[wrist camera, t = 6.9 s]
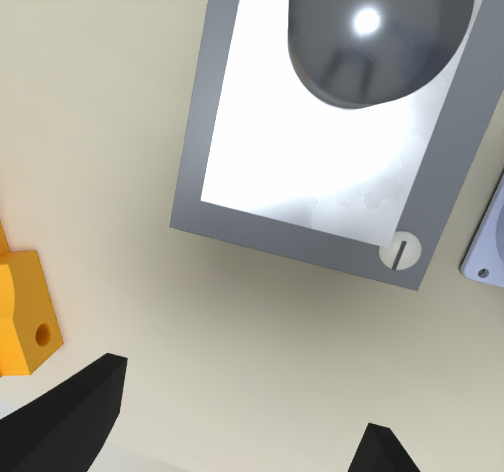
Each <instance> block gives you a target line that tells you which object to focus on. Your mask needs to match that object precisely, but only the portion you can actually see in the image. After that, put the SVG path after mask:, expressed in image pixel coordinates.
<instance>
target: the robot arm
mask: <svg viewBox="0 0 504 472" xmlns="http://www.w3.org/2000/svg"><path fill="white" fill-rule="evenodd" d="M481 269H485V272H484V273H483V274H481V275H478V272H479V271H480V270H481ZM461 273H462V274H463V275H464V276H465V277H466V278H468V279H471V280H475V281H479V282H483V283H487V284H491V285H494V286H498V287H502V288H504V174H503V176H502V179H501V181H500V183H499V185H498V187H497V189H496V192H495V194H494V196H493V198H492V200H491V203H490V205H489V207H488V209H487V211H486V214H485V216H484V218H483V220H482V222H481V225H480V227H479V229H478V231H477V233H476V236H475V238H474V240H473V242H472V244H471V246H470V249H469V251H468V253H467V255H466V257H465V260H464V262H463V264H462V266H461ZM127 360H128V358H125V357H122V356H118V355H114V354H110V353H107V354H105V355H103V356H102V357H100V358H99V359H97V360H96V361H94V362H93V363H91V364H90V365H88V366H87V367H85V368H84V369H82V370H81V371H79V372H78V373H76V374H75V375H73V376H72V377H70V378H68V379H67V380H65V381H64V382H62V383H61V384H59V385H58V386H56V387H54V388H53V389H51V390H50V391H48V392H46V393H45V394H43V395H42V396H40V397H38V398H37V399H35V400H33V401H32V402H30V403H28V404H27V405H25V406H23V407H21V408H20V409H18V410H16V411H14V412H13V413H11V414H9V415H7V416H6V417H4V418H2V419H0V472H87V471H88V469H89V468H90V466H91V465H92V463H93V461H94V460H95V458H96V457H97V455H98V454H99V452H100V450H101V449H102V447H103V445H104V443H105V441H106V439H107V437H108V435H109V433H110V431H111V429H112V427H113V425H114V423H115V421H116V419H117V417H118V415H119V413H120V407H121V400H122V393H123V387H124V380H125V373H126V367H127ZM348 472H420V470H419V469H418V468H417V466H416V465H415V463H414V462H413V460H412V459H411V458H410V456H409V455H408V453H407V452H406V450H405V449H404V448H403V446H402V445H401V443H400V442H399V440H398V439H397V438H396V436H395V435H394V433H393V432H392V431H391V429H390V428H387V427H383V426H379V425H376V424H372V423H368V426H367V428H366V430H365V432H364V435H363V437H362V439H361V442H360V444H359V446H358V449H357V451H356V453H355V456H354V458H353V460H352V463H351V465H350V467H349V469H348Z"/></svg>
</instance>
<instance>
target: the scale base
mask: <svg viewBox="0 0 504 472" xmlns="http://www.w3.org/2000/svg"><path fill="white" fill-rule="evenodd" d="M239 1H240V0H208V4H207V10H206V16H205V22H204V28H203V34H202V39H201V45H200V51H199V57H198V63H197V69H196V75H195V81H194V87H193V92H192V98H191V104H190V110H189V116H188V122H187V128H186V134H185V139H184V145H183V151H182V157H181V163H180V169H179V175H178V181H177V186H176V192H175V198H174V204H173V210H172V216H171V222H170V227H171V228H174V229H178V230H182V231H186V232H190V233H194V234H198V235H202V236H206V237H209V238H213V239H217V240H221V241H225V242H229V243H233V244H237V245H240V246H244V247H248V248H252V249H256V250H260V251H264V252H268V253H272V254H275V255H279V256H283V257H287V258H291V259H295V260H299V261H303V262H307V263H310V264H314V265H318V266H322V267H326V268H330V269H334V270H338V271H342V272H345V273H349V274H353V275H357V276H361V277H365V278H369V279H373V280H376V281H380V282H384V283H388V284H392V285H396V286H400V287H404V288H408V289H411V290H415V291H418V289H419V286H420V284H421V282H422V279H423V277H424V274H425V272H426V270H427V267H428V265H429V263H430V260H431V258H432V256H433V253H434V251H435V249H436V246H437V244H438V241H439V239H440V237H441V234H442V232H443V230H444V227H445V225H446V223H447V220H448V218H449V216H450V213H451V211H452V208H453V206H454V204H455V201H456V199H457V197H458V194H459V192H460V190H461V187H462V185H463V183H464V180H465V178H466V175H467V173H468V171H469V168H470V166H471V164H472V161H473V159H474V157H475V154H476V152H477V150H478V147H479V145H480V142H481V140H482V138H483V135H484V133H485V131H486V128H487V126H488V124H489V121H490V119H491V117H492V114H493V112H494V109H495V107H496V105H497V102H498V100H499V98H500V95H501V93H502V91H503V88H504V0H483V1H482V3H481V6H480V8H479V11H478V14H477V16H476V19H475V22H474V24H473V27H472V30H471V32H470V35H469V37H468V40H467V43H466V45H465V48H464V51H463V53H462V56H461V58H460V61H459V64H458V66H457V69H456V72H455V74H454V77H453V80H452V82H451V85H450V87H449V90H448V93H447V95H446V98H445V101H444V103H443V106H442V109H441V111H440V114H439V116H438V119H437V122H436V124H435V127H434V130H433V132H432V135H431V137H430V140H429V143H428V145H427V148H426V151H425V153H424V156H423V159H422V161H421V164H420V166H419V169H418V172H417V174H416V177H415V180H414V182H413V185H412V187H411V190H410V193H409V195H408V198H407V201H406V203H405V206H404V209H403V211H402V214H401V216H400V219H399V222H398V224H397V227H396V230H395V232H394V235H393V238H392V240H391V243H390V245H389V248H385V247H381V246H378V245H374V244H370V243H366V242H362V241H358V240H354V239H350V238H346V237H342V236H338V235H334V234H330V233H327V232H323V231H319V230H315V229H311V228H307V227H303V226H299V225H295V224H291V223H287V222H283V221H279V220H276V219H272V218H268V217H264V216H260V215H256V214H252V213H248V212H244V211H240V210H236V209H232V208H228V207H225V206H221V205H217V204H213V203H209V202H205V201H201V196H202V191H203V186H204V181H205V176H206V171H207V165H208V160H209V155H210V150H211V145H212V140H213V135H214V129H215V124H216V119H217V114H218V109H219V104H220V98H221V93H222V88H223V83H224V78H225V73H226V68H227V62H228V57H229V52H230V47H231V42H232V37H233V32H234V26H235V21H236V16H237V11H238V6H239Z"/></svg>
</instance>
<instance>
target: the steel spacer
mask: <svg viewBox="0 0 504 472" xmlns="http://www.w3.org/2000/svg"><path fill="white" fill-rule="evenodd" d="M474 1H475V0H289V5H288V29H287V55H286V59H287V68H288V73H289V76H290V79H291V81H292V83H293V86H294V87H295V89H296V90H297V92H298V93H299V95H300V96H301V97H302V98H303V99H304V100H305V101H306V102H308V103H309V104H310V105H312V106H314V107H315V108H318V109H320V110H323V111H326V112H331V113H345V112H351V111H355V110H359V109H363V108H367V107H371V106H375V105H379V104H383V103H387V102H391V101H395V100H398V99H401V98H403V97H406V96H408V95H410V94H412V93H414V92H415V91H417V90H419V89H420V88H422V87H423V86H425V85H426V84H428V83H429V82H430V81H431V80H432V79H434V78H435V77H436V76H437V75H438V74H439V73H440V72H441V71H442V70H443V69H444V67H445V66H446V65H447V64H448V63H449V61H450V60H451V59H452V57H453V56H454V54H455V53H456V51H457V50H458V48H459V46H460V44H461V43H462V41H463V38H464V36H465V34H466V31H467V29H468V26H469V23H470V20H471V16H472V12H473V7H474Z"/></svg>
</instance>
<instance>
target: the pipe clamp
mask: <svg viewBox="0 0 504 472" xmlns="http://www.w3.org/2000/svg"><path fill="white" fill-rule="evenodd" d="M63 344H64V343H63V340H62V336H61V333H60V329H59V326H58V323H57V319H56V316H55V312H54V309H53V305H52V302H51V298H50V295H49V291H48V288H47V284H46V281H45V278H44V274H43V271H42V267H41V264H40V260H39V257H38V253H37V250H36V251H22V252H10V250H9V246H8V243H7V240H6V237H5V234H4V230H3V227H2V224H1V221H0V378H1V377H2V376H15V375H31V374H32V373H33V372H34V371H35V370H36V369H37V368H38V367H39V366H41V365H42V364H43V363H44V362H45V361H46V360H47V359H48V358H49V357H50V356H51V355H52V354H53V353H54V352H55V351H56V350H57V349H58V348H60V347H61V346H62V345H63Z"/></svg>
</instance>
